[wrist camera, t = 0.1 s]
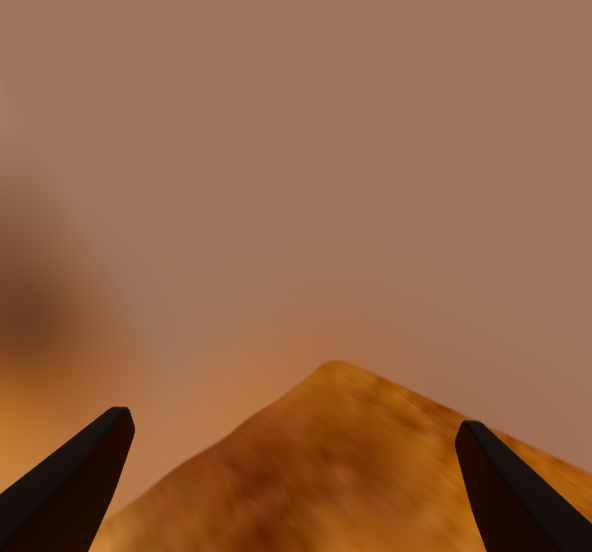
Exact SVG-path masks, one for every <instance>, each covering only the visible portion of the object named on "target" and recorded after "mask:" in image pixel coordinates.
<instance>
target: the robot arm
mask: <svg viewBox="0 0 592 552" xmlns="http://www.w3.org/2000/svg"><path fill="white" fill-rule="evenodd" d="M134 433H135V426H134V423H133V420H132V416H131V413H130V410H129V409H128V408H127V407H112V408H110V409H108V410H107V411H106V412H104V413H103V414H102V415H101V416H100V417H98V418H97V419H95V420H94V421H93V422H92V423H90V424H89V425H88V426H87V427H86V428H84V429H83V430H81V431H80V432H79V433H78V434H76V435H75V436H74V437H73V438H71V439H70V440H69V441H67V442H66V443H65V444H64V445H62V446H61V447H60V448H59V449H57V450H56V451H55V452H54V453H52V454H51V455H50V456H48V457H47V458H46V459H44V460H43V461H42V462H41V463H39V464H38V465H37V466H36V467H34V468H33V469H32V470H31V471H29V472H28V473H27V474H25V475H24V476H23V477H22V478H20V479H19V480H18V481H16V482H15V483H14V484H13V485H11V486H10V487H9V488H7V489H6V490H5V491H4V492H2V493H1V494H0V552H88V551H89V549H90V546H91V544H92V542H93V540H94V538H95V535H96V533H97V531H98V529H99V527H100V524H101V522H102V520H103V518H104V515H105V513H106V511H107V508H108V506H109V504H110V502H111V500H112V497H113V495H114V492H115V489H116V487H117V484H118V481H119V478H120V475H121V472H122V469H123V466H124V464H125V461H126V458H127V455H128V452H129V449H130V446H131V443H132V440H133V437H134ZM455 448H456V452H457V456H458V460H459V464H460V468H461V472H462V475H463V479H464V483H465V487H466V491H467V494H468V498H469V502H470V505H471V509H472V512H473V515H474V518H475V521H476V524H477V527H478V529H479V532H480V535H481V537H482V540H483V543H484V546H485V548H486V551H487V552H592V523H591V522H590V521H588V520H587V519H586V518H585V517H584V516H583V515H582V514H581V513H580V512H579V511H578V510H576V509H575V508H574V507H573V506H572V505H571V504H570V503H569V502H568V501H567V500H566V499H564V498H563V497H562V496H561V495H560V494H559V493H558V492H557V491H556V490H555V489H554V488H552V487H551V486H550V485H549V484H548V483H547V482H546V481H545V480H544V479H543V478H542V477H540V476H539V475H538V474H537V473H536V472H535V471H534V470H533V469H532V468H531V467H530V466H529V465H527V464H526V463H525V462H524V461H523V460H522V459H521V458H520V457H519V456H518V455H517V454H515V453H514V452H513V451H512V450H511V449H510V448H509V447H508V446H507V445H506V444H505V443H503V442H502V441H501V440H500V439H499V438H498V437H497V436H496V435H495V434H494V433H493V432H491V431H490V430H489V429H488V428H487V427H486V426H485V425H484V424H483V423H481V422H480V421H476V420H464V421H463V422H462V423H461V425H460V428H459V431H458V433H457V436H456V439H455Z"/></svg>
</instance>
